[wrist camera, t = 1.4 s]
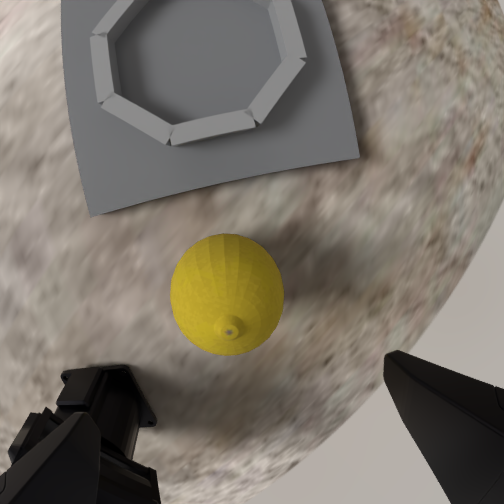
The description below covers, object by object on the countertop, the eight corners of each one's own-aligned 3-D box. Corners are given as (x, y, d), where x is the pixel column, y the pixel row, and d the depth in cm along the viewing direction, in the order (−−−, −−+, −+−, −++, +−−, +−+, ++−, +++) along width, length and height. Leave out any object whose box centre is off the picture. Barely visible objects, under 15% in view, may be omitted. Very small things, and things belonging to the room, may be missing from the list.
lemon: (272, 221, 19) (307, 263, 11) (267, 305, 20) (293, 384, 13) (179, 220, 18) (150, 263, 11) (182, 305, 20) (165, 386, 12)
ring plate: (351, 157, 18) (371, 158, 15) (97, 213, 17) (80, 222, 15) (295, -50, 13) (304, -70, 11) (68, -1, 13) (52, -16, 10)
